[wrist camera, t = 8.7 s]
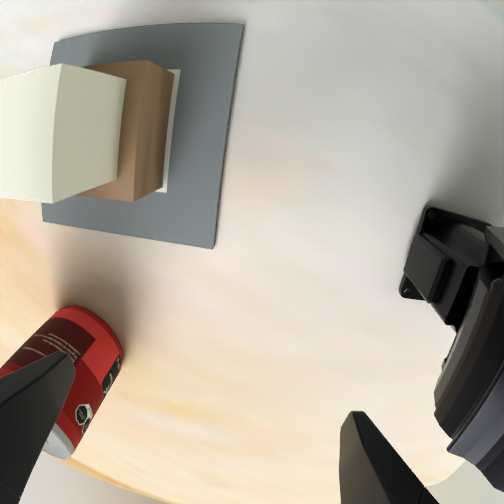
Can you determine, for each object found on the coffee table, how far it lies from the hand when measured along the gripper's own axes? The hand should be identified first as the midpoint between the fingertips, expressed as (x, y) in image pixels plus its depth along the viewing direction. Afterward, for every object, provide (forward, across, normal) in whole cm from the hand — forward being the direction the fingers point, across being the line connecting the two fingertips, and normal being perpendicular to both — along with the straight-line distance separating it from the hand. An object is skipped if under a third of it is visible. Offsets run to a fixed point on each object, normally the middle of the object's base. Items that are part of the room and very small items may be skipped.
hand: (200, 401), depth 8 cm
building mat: (+12, +9, -7) cm, 17 cm away
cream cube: (+8, +9, -7) cm, 14 cm away
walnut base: (+12, +9, -7) cm, 16 cm away
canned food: (+12, +13, +11) cm, 21 cm away
